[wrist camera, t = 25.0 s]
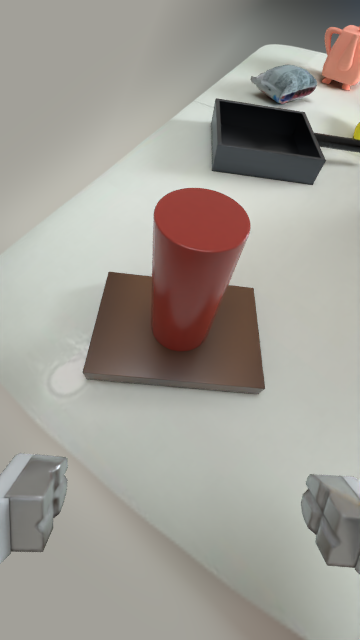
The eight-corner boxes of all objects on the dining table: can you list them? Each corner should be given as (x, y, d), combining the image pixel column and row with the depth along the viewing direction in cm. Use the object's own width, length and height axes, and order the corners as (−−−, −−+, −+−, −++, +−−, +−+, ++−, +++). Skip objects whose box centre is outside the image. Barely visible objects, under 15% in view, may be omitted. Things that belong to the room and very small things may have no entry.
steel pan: (212, 170, 39) (217, 144, 36) (211, 122, 47) (215, 97, 44) (369, 192, 40) (388, 168, 37) (343, 142, 48) (356, 119, 45)
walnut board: (86, 379, 21) (82, 372, 20) (110, 281, 26) (108, 271, 25) (258, 394, 22) (265, 388, 21) (248, 296, 27) (253, 287, 26)
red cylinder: (147, 348, 22) (148, 244, 12) (154, 298, 24) (159, 181, 15) (208, 354, 22) (255, 257, 12) (208, 304, 24) (247, 193, 15)
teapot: (305, 69, 68) (328, 9, 60) (346, 73, 70) (374, 16, 61) (327, 93, 61) (357, 29, 52) (373, 97, 63) (409, 35, 54)
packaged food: (246, 93, 55) (255, 61, 51) (281, 85, 60) (292, 55, 56) (278, 112, 53) (290, 80, 48) (312, 101, 57) (325, 71, 53)
